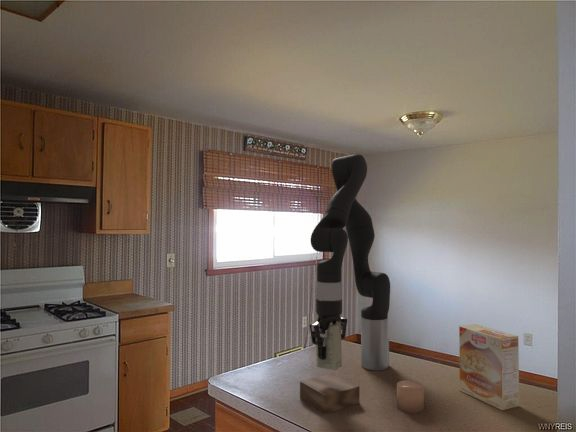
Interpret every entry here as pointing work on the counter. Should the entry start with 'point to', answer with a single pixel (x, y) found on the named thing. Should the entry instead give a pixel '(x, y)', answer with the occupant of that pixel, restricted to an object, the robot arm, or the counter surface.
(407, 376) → the counter surface
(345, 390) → the walnut block
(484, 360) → the coffeecake box
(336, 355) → the skincare box
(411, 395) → the pink rounded knob
